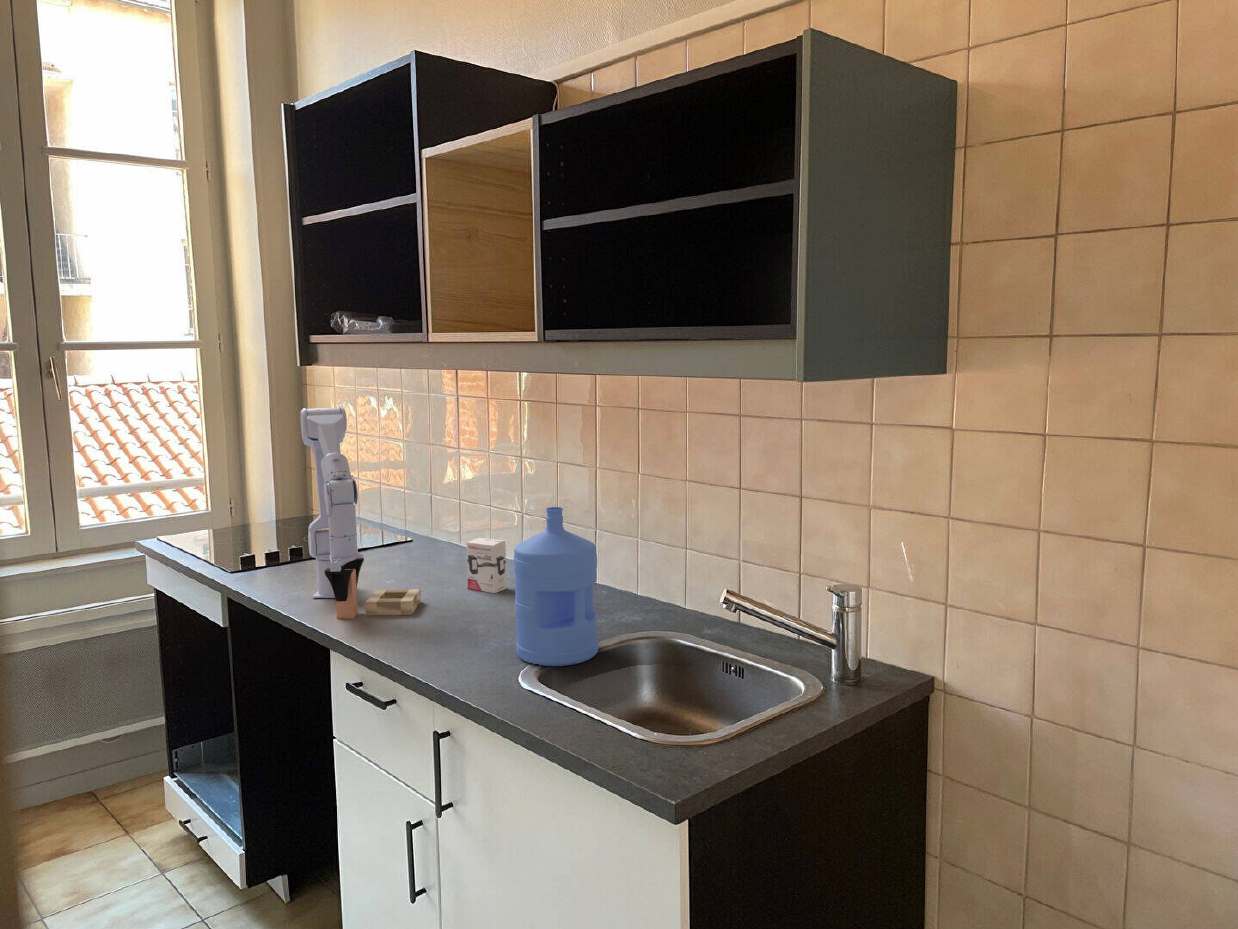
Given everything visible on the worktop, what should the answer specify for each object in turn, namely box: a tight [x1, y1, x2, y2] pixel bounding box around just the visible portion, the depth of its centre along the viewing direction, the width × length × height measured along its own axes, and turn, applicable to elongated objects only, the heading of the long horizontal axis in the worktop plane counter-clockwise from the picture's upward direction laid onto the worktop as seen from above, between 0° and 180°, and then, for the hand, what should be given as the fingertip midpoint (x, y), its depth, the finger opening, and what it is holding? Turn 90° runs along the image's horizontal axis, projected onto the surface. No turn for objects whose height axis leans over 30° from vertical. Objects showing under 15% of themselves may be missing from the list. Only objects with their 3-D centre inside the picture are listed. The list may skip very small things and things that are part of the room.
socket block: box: [364, 588, 422, 616], centre depth 207 cm, size 10×10×3 cm
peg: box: [335, 569, 359, 619], centre depth 201 cm, size 4×4×10 cm
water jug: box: [513, 506, 600, 667], centre depth 174 cm, size 16×16×28 cm
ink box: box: [466, 537, 508, 594], centre depth 221 cm, size 8×5×12 cm, turn 60°
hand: (346, 596), depth 201 cm, fingers open, 7 cm apart
